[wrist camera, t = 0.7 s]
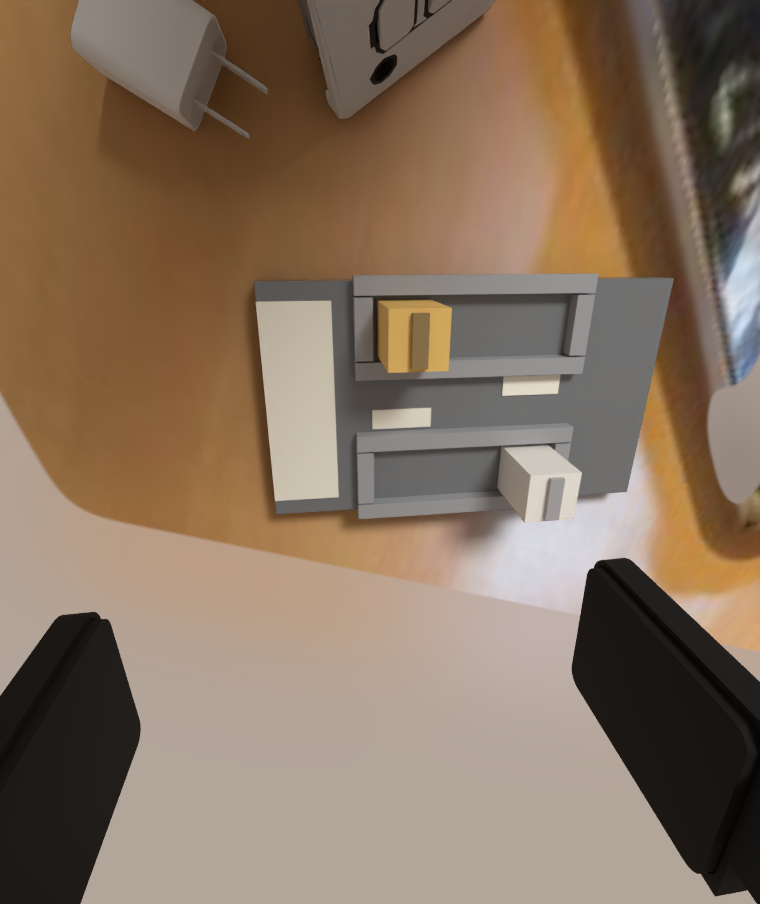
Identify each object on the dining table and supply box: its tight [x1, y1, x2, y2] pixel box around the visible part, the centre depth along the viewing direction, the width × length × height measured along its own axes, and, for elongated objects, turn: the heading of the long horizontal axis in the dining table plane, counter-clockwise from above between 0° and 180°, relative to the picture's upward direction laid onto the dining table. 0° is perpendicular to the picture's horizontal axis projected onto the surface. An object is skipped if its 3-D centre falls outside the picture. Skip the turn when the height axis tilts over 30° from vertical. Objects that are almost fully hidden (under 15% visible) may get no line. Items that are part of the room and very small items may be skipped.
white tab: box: [497, 443, 582, 522], centre depth 29 cm, size 3×3×5 cm
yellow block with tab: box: [377, 300, 452, 373], centre depth 25 cm, size 3×3×5 cm
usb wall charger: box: [71, 0, 268, 139], centre depth 21 cm, size 4×7×4 cm, turn 60°
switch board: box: [254, 273, 674, 519], centre depth 29 cm, size 15×24×2 cm, turn 90°
